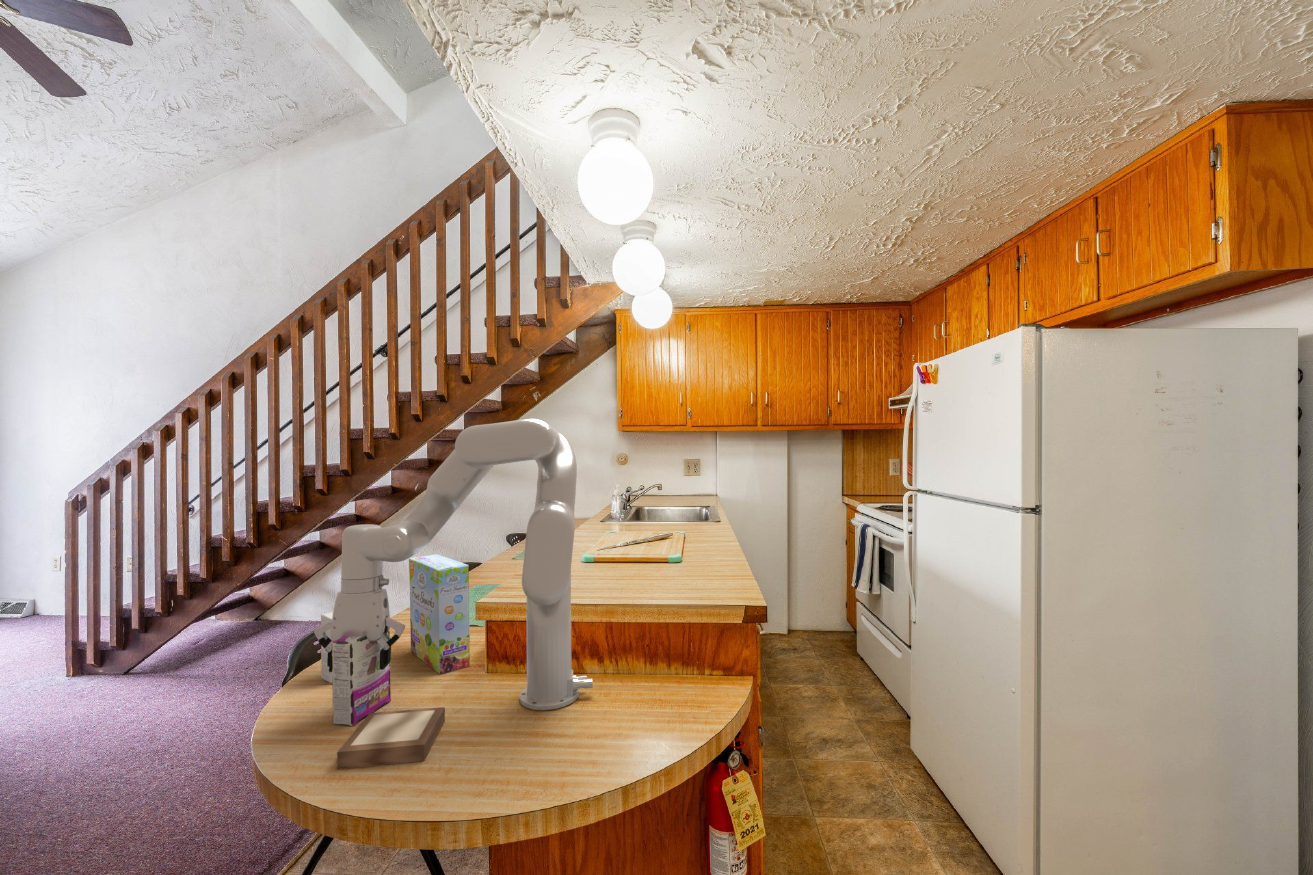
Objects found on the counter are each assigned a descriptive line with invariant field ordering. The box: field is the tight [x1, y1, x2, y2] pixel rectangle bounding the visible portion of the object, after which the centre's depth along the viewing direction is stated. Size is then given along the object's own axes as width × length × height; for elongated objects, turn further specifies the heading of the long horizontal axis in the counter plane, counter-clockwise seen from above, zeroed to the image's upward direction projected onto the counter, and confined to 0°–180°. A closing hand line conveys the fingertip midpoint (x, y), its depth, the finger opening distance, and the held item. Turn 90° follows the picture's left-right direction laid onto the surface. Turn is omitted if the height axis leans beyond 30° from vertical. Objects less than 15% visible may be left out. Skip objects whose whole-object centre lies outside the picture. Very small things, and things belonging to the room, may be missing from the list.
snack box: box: [408, 553, 471, 675], centre depth 139 cm, size 22×9×26 cm, turn 43°
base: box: [336, 706, 446, 770], centre depth 98 cm, size 14×14×3 cm
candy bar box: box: [331, 630, 392, 727], centre depth 110 cm, size 11×5×16 cm, turn 168°
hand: (359, 668), depth 110 cm, fingers open, 9 cm apart
